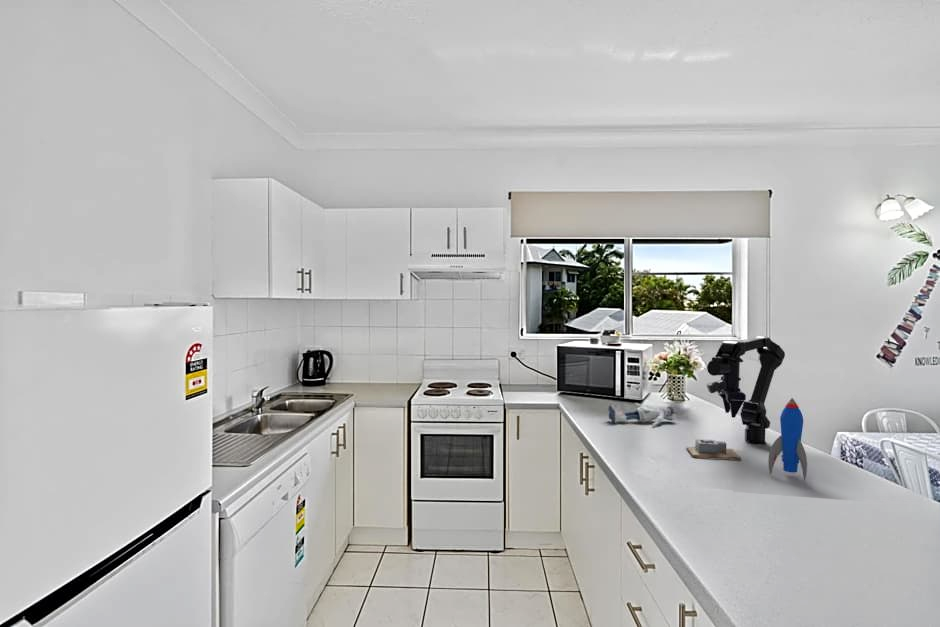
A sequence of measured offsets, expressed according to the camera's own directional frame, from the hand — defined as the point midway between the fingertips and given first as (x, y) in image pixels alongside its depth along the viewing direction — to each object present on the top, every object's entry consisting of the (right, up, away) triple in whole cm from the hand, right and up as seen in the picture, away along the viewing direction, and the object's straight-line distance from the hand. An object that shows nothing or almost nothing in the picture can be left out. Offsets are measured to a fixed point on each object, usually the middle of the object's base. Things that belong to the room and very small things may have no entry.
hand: (730, 415), depth 222 cm
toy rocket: (+1, -13, -36) cm, 39 cm away
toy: (-21, -11, +42) cm, 48 cm away
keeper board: (-12, -12, -12) cm, 21 cm away
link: (-12, -11, -12) cm, 20 cm away
